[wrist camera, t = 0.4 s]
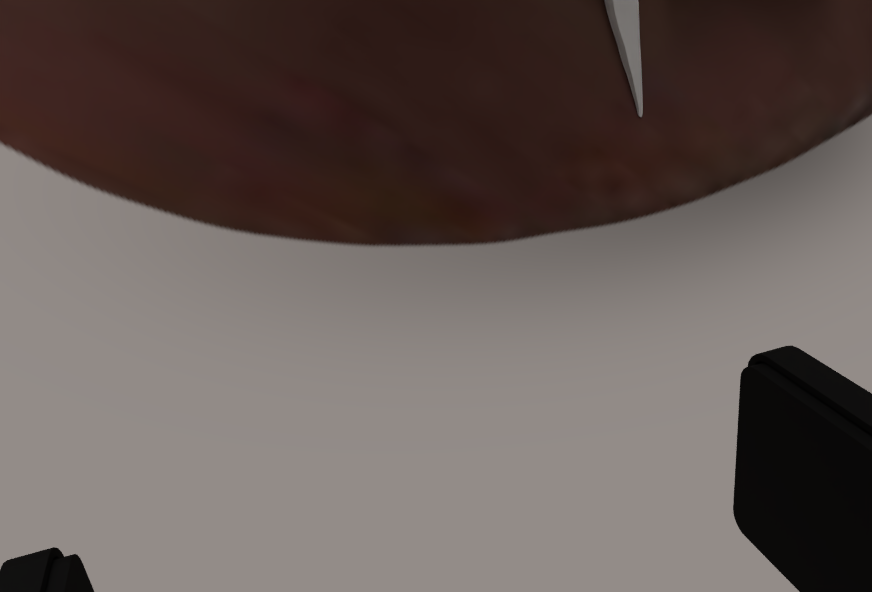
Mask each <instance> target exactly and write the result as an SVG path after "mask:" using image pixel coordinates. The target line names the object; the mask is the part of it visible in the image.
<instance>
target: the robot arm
mask: <svg viewBox="0 0 872 592" xmlns="http://www.w3.org/2000/svg"><path fill="white" fill-rule="evenodd" d="M733 510H734V517H735V520H736V523H737V525H738V527H739V529H740V530H741V532H742V533H743V534H744V535H745V536H746V537H747V538H748V539H749V540H750V541H751V543H753V545H754V546H756V548H757V549H758V550H759V551H760V552H761V553H762V554H763V555H764V556H765V557H766V558H767V559H768V560H769V561H770V562H771V563H772V564H773V565H774V566H775V567H776V568H777V569H778V570H779V571H780V572H781V573H782V574H783V575H784V576H785V577H786V578H787V579H788V580H789V581H790V582H791V583H792V584H793V585H794V586H795V587H796V588H797V589H798V590H799V591H800V592H872V394H871V393H870V392H868V391H867V390H865V389H863V388H862V387H860V386H858V385H857V384H855V383H854V382H852V381H850V380H849V379H847V378H846V377H844V376H842V375H841V374H839V373H838V372H836V371H834V370H832V369H831V368H829V367H828V366H826V365H825V364H823V363H821V362H820V361H818V360H817V359H815V358H813V357H812V356H810V355H808V354H807V353H805V352H804V351H802V350H800V349H799V348H796V347H794V346H785V347H781V348H777V349H774V350H770V351H767V352H763V353H759V354H756V355H754V356H753V357H752V358H751V359H750V361H749V363H748V367H746V368H745V369H744V370H743V371H742V373H741V380H740V399H739V416H738V435H737V451H736V469H735V487H734V505H733ZM0 592H94V590H93V588H92V585H91V583H90V580H89V578H88V576H87V573H86V571H85V568H84V566H83V563H82V561H81V559H80V558H79V556H78V555H76V554H74V555H70V556H66V557H64V556H63V554H62V552H61V551H60V550H59V549H58V548H50V549H47V550H43V551H39V552H35V553H32V554H28V555H25V556H21V557H17V558H14V559H10V560H7V561H6V562H4V563H3V565H2V567H1V570H0Z"/></svg>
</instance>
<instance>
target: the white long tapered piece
mask: <svg viewBox="0 0 872 592" xmlns="http://www.w3.org/2000/svg"><path fill="white" fill-rule="evenodd" d="M604 2H605V6H606V10H607V14H608V17H609V21H610V24H611V27H612V30H613V33H614V36H615V39H616V42H617V45H618V50H619V53H620V57H621V60H622V63H623V66H624V69H625V72H626V74H627V77H628V81H629V84H630V87H631V91H632V94H633V98H634V101H635V104H636V109H637V113H638V115H639V116H640V117H642V114H643V99H642V70H641V51H640V32H639V3H638V0H604Z"/></svg>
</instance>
